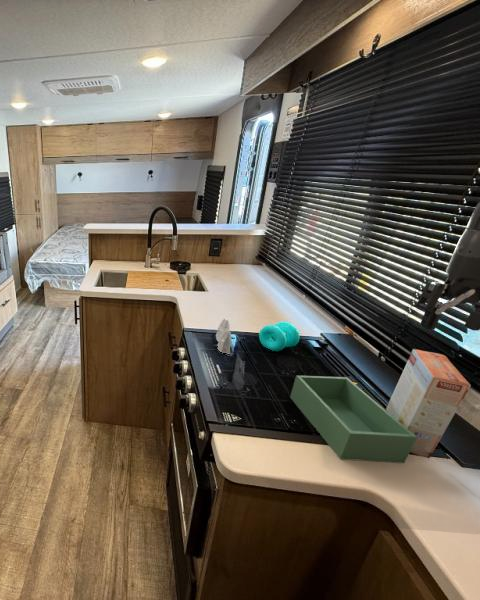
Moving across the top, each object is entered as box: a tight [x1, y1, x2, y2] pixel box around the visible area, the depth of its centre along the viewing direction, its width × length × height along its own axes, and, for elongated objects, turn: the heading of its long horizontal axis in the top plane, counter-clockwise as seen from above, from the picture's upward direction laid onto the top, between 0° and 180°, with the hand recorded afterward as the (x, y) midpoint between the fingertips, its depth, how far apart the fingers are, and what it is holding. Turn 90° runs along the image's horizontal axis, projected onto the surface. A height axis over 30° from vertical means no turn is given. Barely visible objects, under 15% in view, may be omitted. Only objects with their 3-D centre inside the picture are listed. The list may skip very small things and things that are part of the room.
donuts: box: [258, 321, 301, 353], centre depth 115 cm, size 10×10×10 cm
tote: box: [289, 375, 417, 464], centre depth 79 cm, size 14×22×8 cm, turn 174°
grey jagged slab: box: [215, 317, 232, 355], centre depth 116 cm, size 12×4×11 cm, turn 163°
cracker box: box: [385, 348, 472, 460], centre depth 73 cm, size 14×6×21 cm, turn 147°
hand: (449, 328), depth 65 cm, fingers open, 8 cm apart
